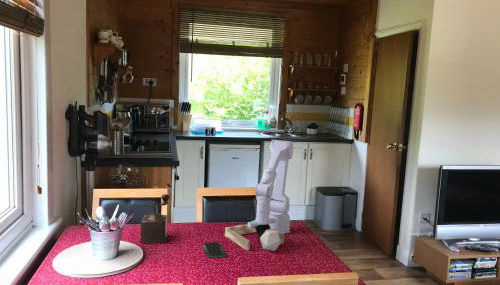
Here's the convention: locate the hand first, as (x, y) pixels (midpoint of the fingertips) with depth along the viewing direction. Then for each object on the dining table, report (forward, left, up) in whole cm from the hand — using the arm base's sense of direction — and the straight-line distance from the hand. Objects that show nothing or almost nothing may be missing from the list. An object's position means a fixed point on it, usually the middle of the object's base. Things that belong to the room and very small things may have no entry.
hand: (261, 241), depth 178 cm
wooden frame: (0, -6, -1) cm, 6 cm away
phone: (+22, -2, -2) cm, 22 cm away
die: (0, +6, -2) cm, 6 cm away
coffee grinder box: (+38, -27, -2) cm, 47 cm away
